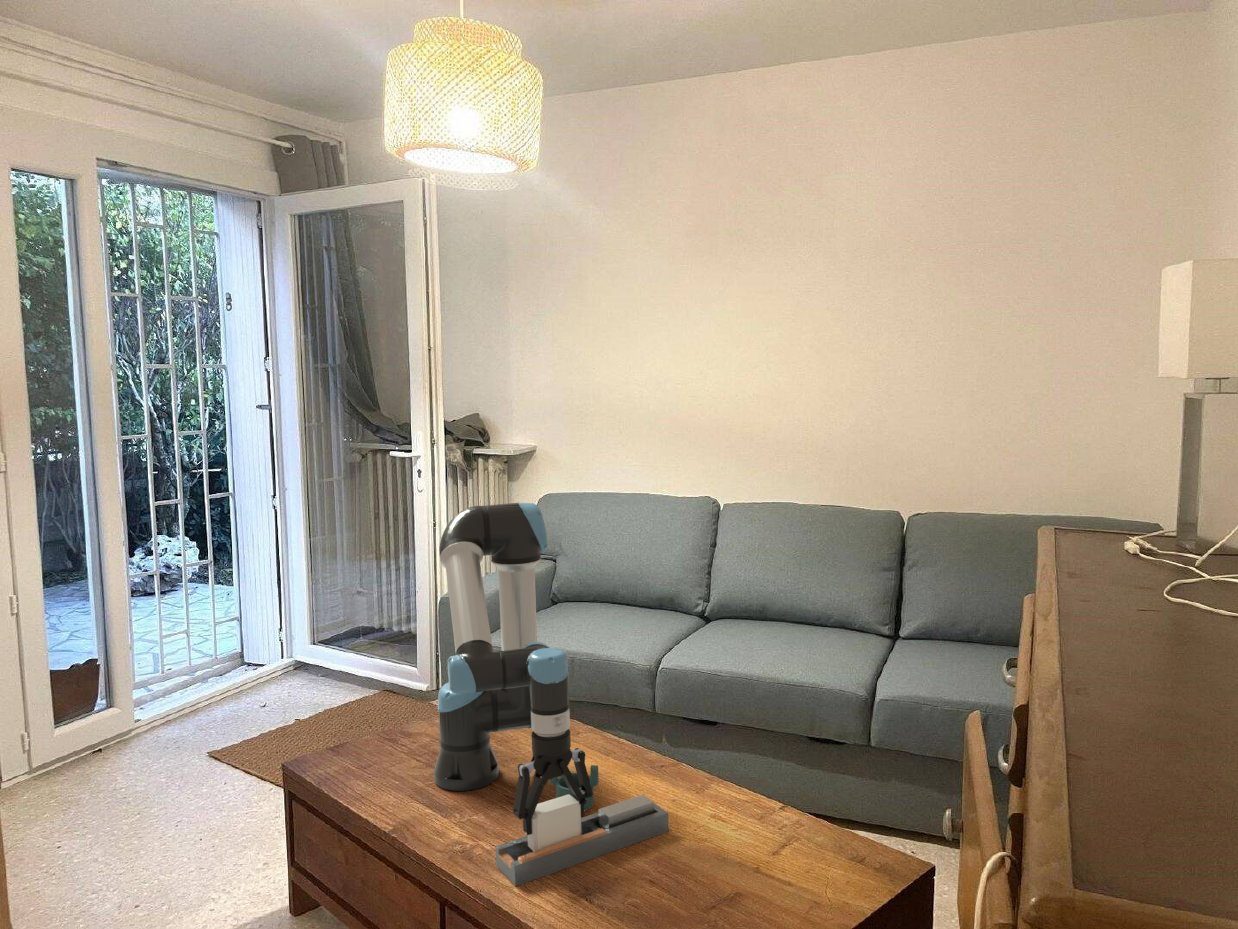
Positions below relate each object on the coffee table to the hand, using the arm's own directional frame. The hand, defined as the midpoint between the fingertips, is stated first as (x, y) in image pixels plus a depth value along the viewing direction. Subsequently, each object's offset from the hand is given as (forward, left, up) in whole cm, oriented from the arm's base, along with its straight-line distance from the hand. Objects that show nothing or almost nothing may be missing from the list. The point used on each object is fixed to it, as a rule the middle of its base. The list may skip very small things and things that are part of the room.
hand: (554, 841), depth 176 cm
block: (0, 0, 0) cm, 0 cm away
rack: (0, +7, -4) cm, 8 cm away
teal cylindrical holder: (-18, +15, -4) cm, 24 cm away
